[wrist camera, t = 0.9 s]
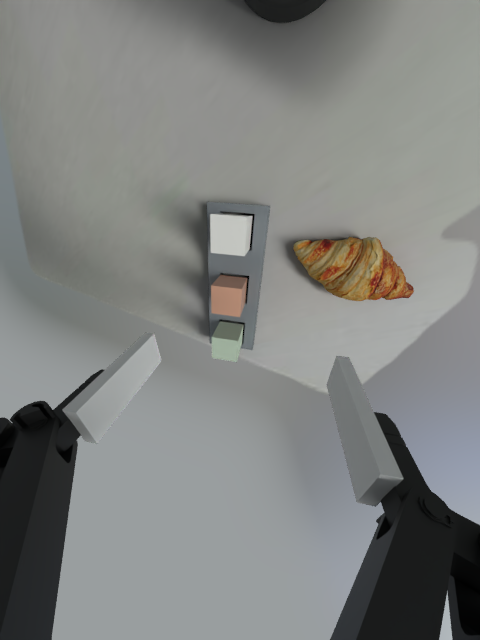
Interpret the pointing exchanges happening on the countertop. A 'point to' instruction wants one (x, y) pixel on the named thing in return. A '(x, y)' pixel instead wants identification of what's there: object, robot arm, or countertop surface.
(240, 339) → the key sage
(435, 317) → the countertop surface
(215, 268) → the grey slotted tray
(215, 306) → the key terracotta
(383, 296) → the croissant
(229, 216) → the key white
